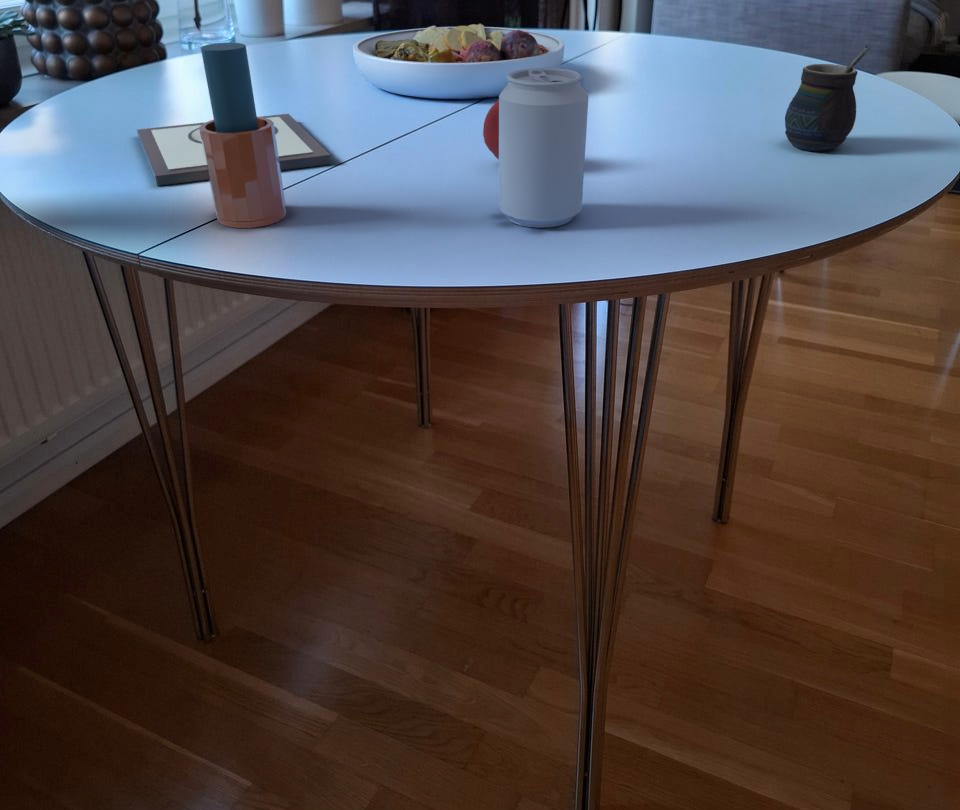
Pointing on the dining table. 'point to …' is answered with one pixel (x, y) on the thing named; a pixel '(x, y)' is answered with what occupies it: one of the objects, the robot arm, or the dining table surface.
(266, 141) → the pen cup
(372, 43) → the bowl
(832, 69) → the mate gourd
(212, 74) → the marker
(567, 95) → the can
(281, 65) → the dining table surface
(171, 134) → the picture frame
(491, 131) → the onion
